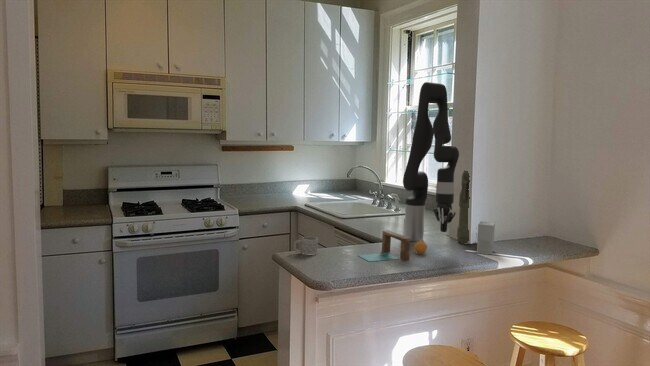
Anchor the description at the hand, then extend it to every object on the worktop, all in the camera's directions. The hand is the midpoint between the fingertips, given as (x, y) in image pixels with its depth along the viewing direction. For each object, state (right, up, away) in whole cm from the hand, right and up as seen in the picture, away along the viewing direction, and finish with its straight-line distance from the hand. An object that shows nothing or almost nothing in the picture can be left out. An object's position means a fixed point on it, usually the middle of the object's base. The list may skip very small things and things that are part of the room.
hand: (443, 231), depth 221 cm
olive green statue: (+16, -7, +23) cm, 29 cm away
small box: (+19, -10, +3) cm, 22 cm away
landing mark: (-30, -10, -11) cm, 33 cm away
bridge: (-22, -9, -8) cm, 26 cm away
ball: (-11, -7, -3) cm, 13 cm away
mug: (-60, -9, -8) cm, 61 cm away
